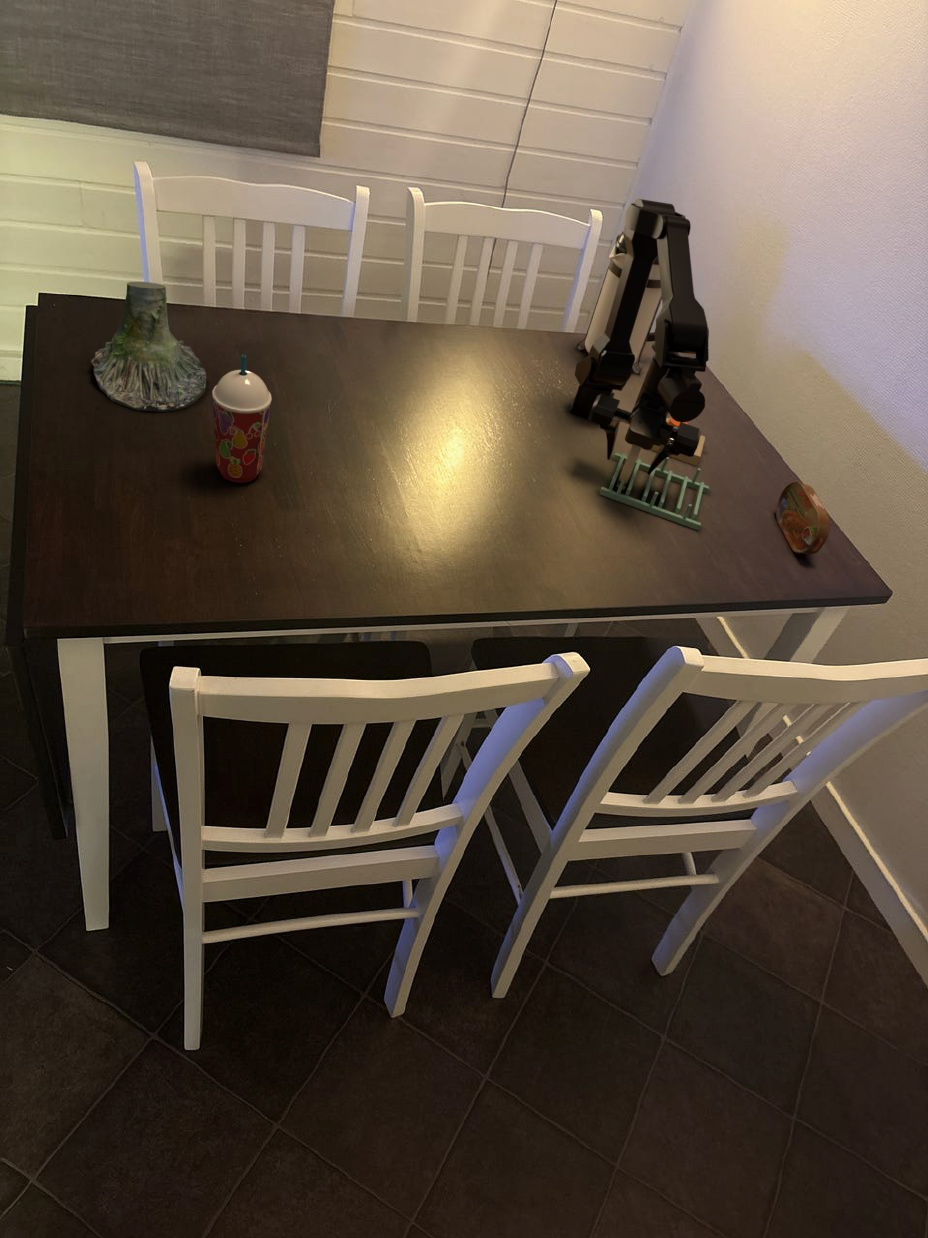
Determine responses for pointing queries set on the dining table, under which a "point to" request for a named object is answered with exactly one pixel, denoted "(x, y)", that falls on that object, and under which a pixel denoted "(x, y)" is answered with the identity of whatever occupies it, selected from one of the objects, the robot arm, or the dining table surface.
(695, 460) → the panel
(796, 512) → the tin
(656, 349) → the robot arm
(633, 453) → the plate
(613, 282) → the coffee press
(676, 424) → the button
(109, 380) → the tree stump
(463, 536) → the dining table surface
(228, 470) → the smoothie
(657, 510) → the rack
